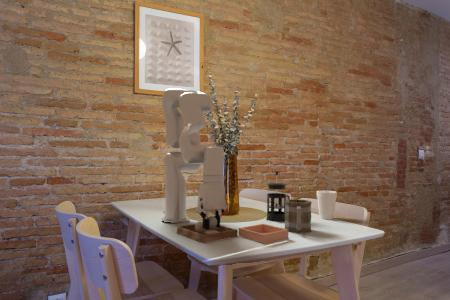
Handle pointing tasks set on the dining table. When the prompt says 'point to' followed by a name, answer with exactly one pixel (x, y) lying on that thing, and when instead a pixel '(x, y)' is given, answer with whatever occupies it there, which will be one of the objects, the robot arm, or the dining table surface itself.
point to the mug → (298, 216)
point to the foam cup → (326, 204)
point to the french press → (272, 214)
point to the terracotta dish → (263, 233)
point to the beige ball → (199, 227)
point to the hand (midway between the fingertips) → (211, 227)
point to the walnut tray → (207, 233)
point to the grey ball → (212, 222)
